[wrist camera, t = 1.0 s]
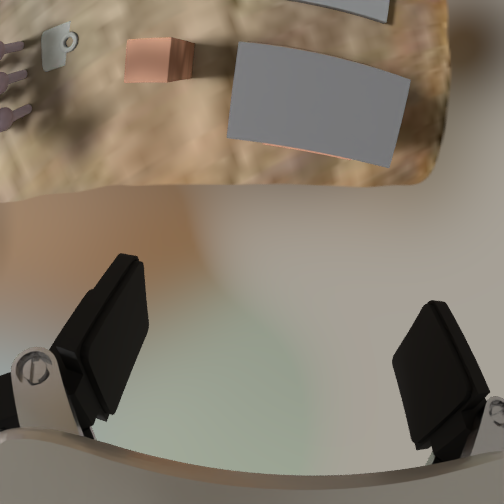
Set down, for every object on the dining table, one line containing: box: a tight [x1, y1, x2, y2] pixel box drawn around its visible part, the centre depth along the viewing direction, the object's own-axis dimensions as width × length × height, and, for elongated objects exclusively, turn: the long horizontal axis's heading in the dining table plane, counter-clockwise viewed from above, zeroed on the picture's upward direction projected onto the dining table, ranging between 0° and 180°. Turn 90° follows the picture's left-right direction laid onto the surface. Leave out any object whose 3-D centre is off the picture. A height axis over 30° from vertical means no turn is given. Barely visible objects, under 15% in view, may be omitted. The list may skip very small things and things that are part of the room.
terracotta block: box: [124, 37, 195, 83], centre depth 24 cm, size 4×4×8 cm
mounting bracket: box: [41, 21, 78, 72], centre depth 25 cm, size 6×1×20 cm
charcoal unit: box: [227, 42, 411, 168], centre depth 24 cm, size 9×13×12 cm
